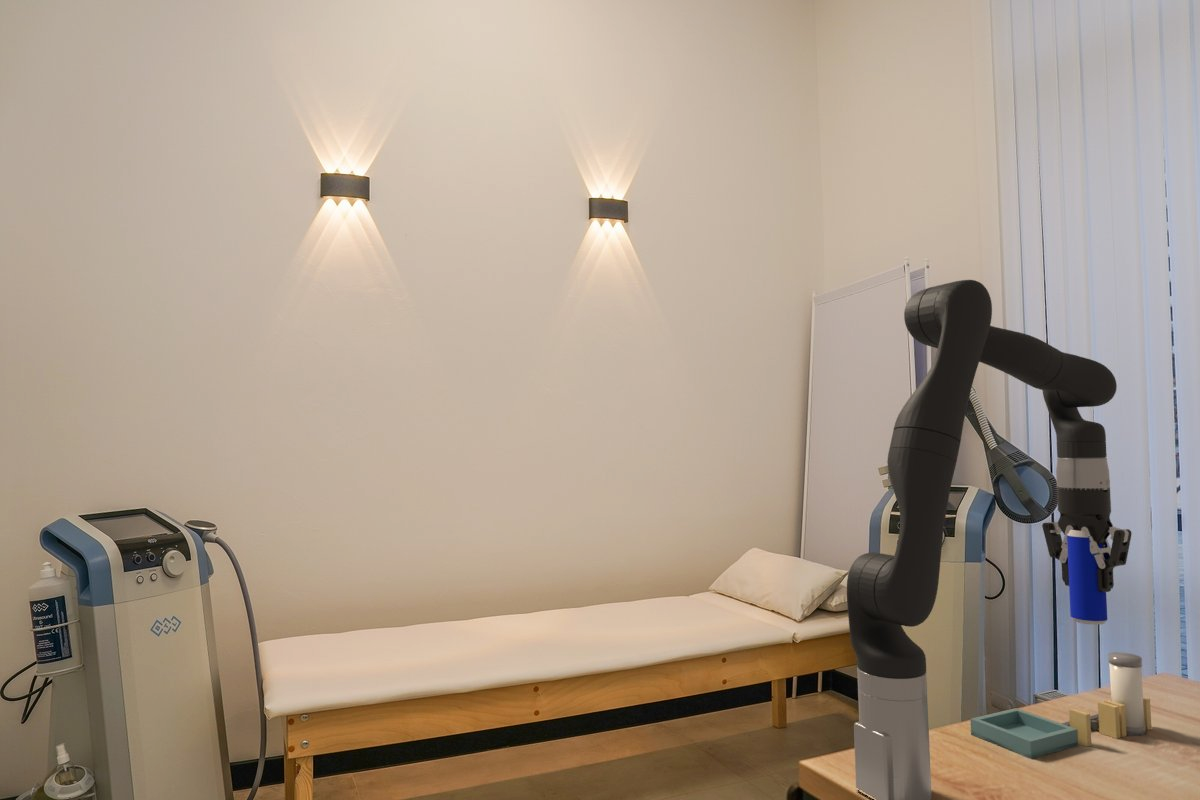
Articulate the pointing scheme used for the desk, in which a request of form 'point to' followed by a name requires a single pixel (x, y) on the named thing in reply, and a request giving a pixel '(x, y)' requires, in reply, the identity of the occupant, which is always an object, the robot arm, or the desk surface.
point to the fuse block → (1104, 720)
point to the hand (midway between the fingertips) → (1087, 588)
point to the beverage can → (1084, 581)
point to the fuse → (1128, 689)
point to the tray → (1024, 732)
